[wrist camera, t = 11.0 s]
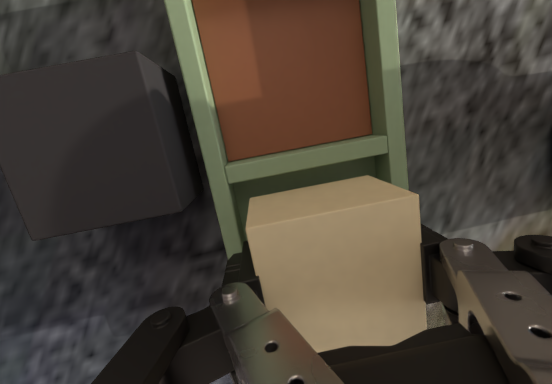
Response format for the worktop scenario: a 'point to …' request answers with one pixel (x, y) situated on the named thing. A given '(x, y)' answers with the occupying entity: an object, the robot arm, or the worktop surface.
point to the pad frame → (290, 96)
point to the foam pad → (341, 261)
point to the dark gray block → (95, 144)
